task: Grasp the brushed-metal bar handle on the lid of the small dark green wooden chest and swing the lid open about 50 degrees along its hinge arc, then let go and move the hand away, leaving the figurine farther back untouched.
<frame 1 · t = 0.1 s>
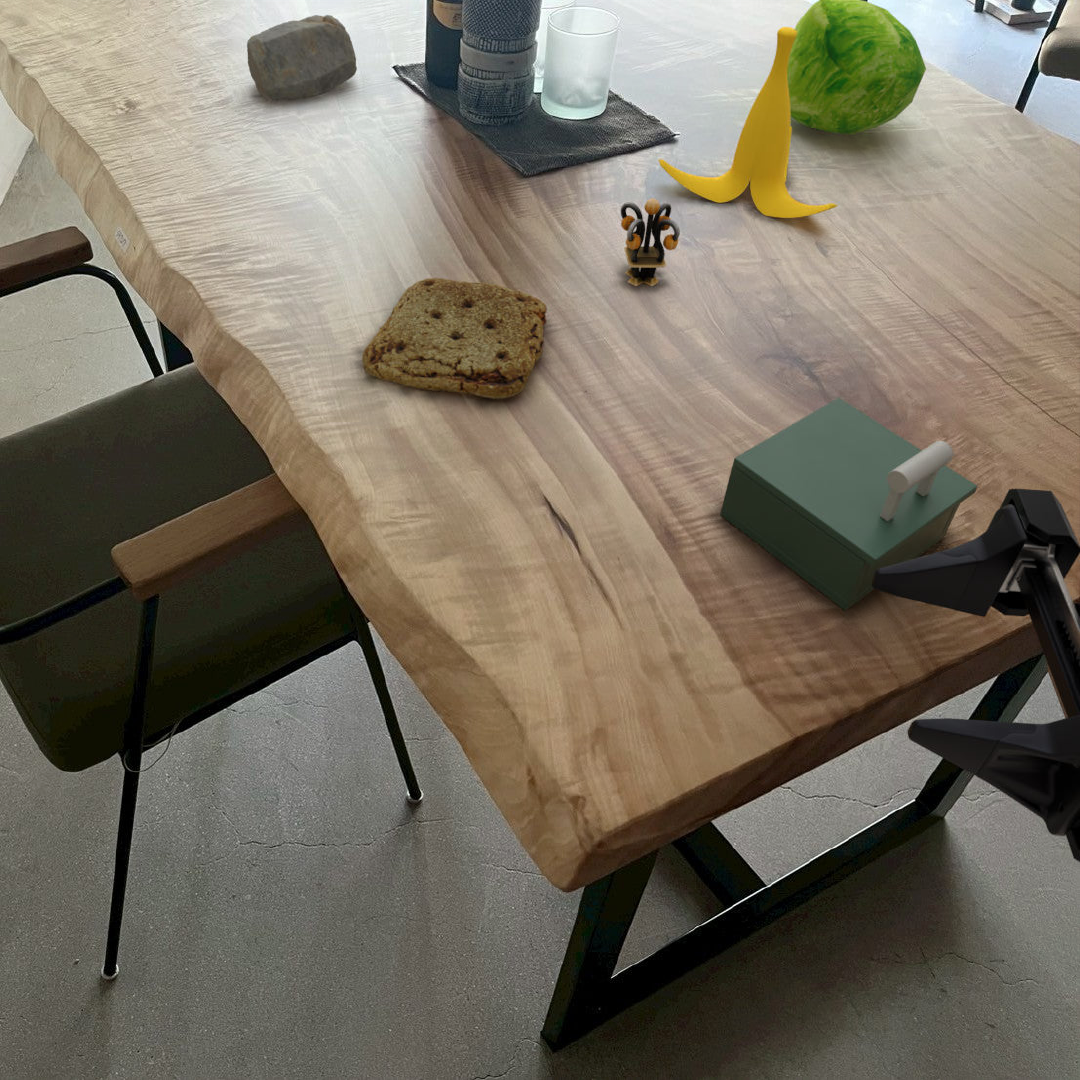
hand: (890, 649, 50), 14 cm above the table, tool horizontal, fingers open, 9 cm apart
lettuce: (830, 124, 126), on the table
stone: (304, 89, 124), on the table
pastry: (459, 348, 89), on the table
banana peel: (768, 203, 111), on the table
lid: (862, 452, 71), point 7 cm above the table, hinge at 0.0°
figurine: (641, 280, 99), on the table
chest: (831, 526, 76), on the table
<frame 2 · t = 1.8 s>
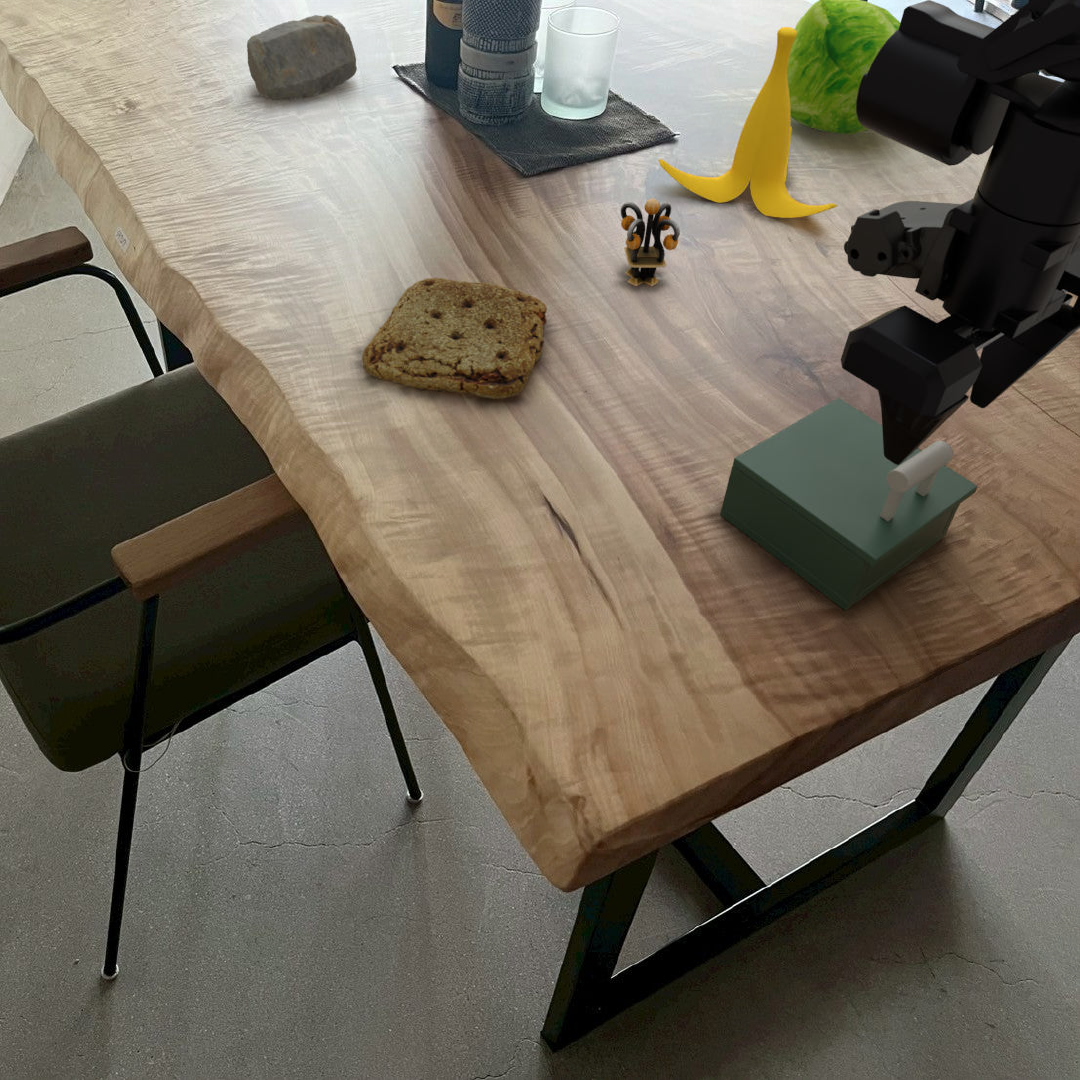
hand: (936, 431, 66), 12 cm above the table, tool pointing down, fingers open, 9 cm apart
nothing on the table moved.
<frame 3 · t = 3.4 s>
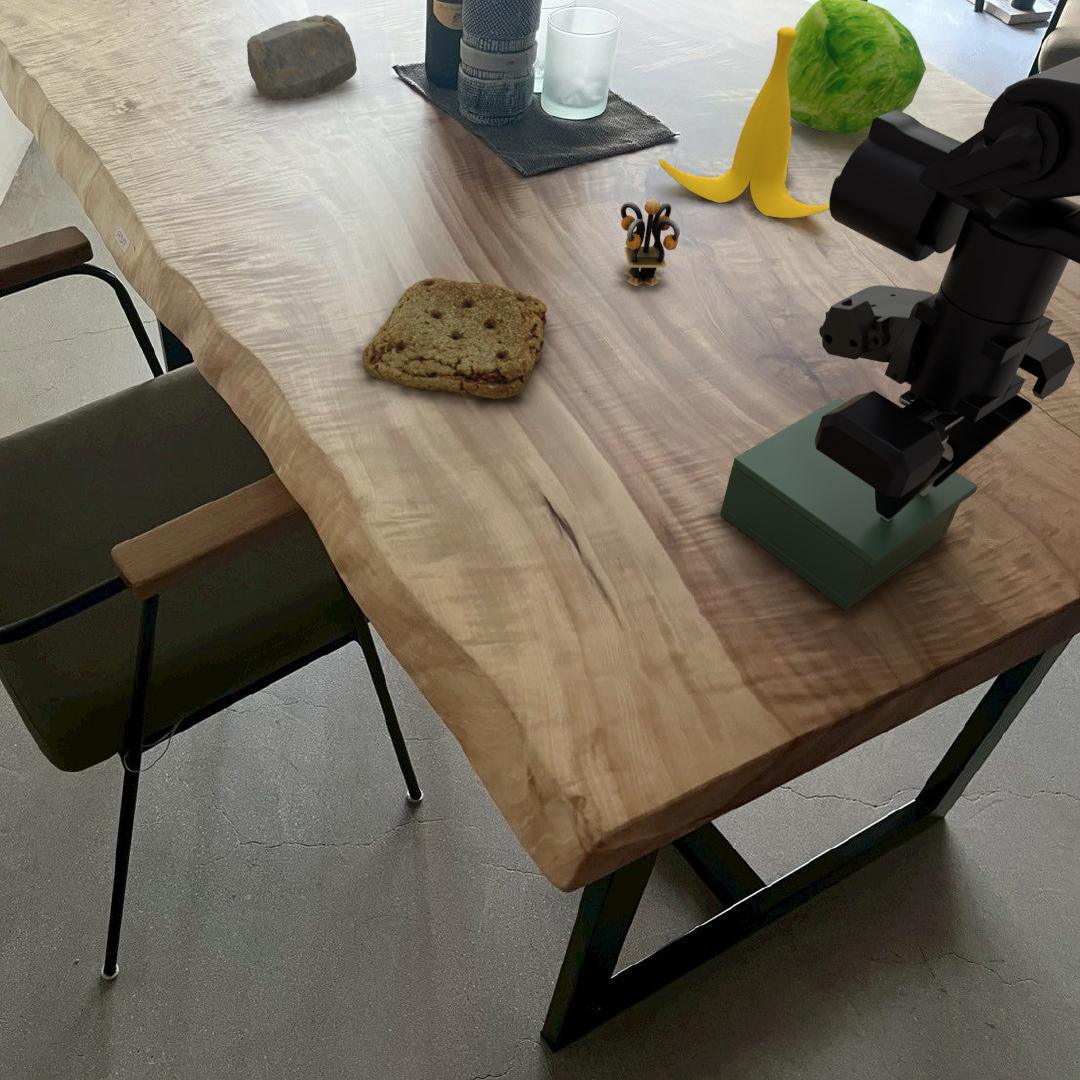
hand: (907, 498, 70), 6 cm above the table, tool pointing down, fingers closed on lid, 5 cm apart
lid: (862, 452, 71), point 7 cm above the table, hinge at 0.0°, touching gripper
everything else where it was.
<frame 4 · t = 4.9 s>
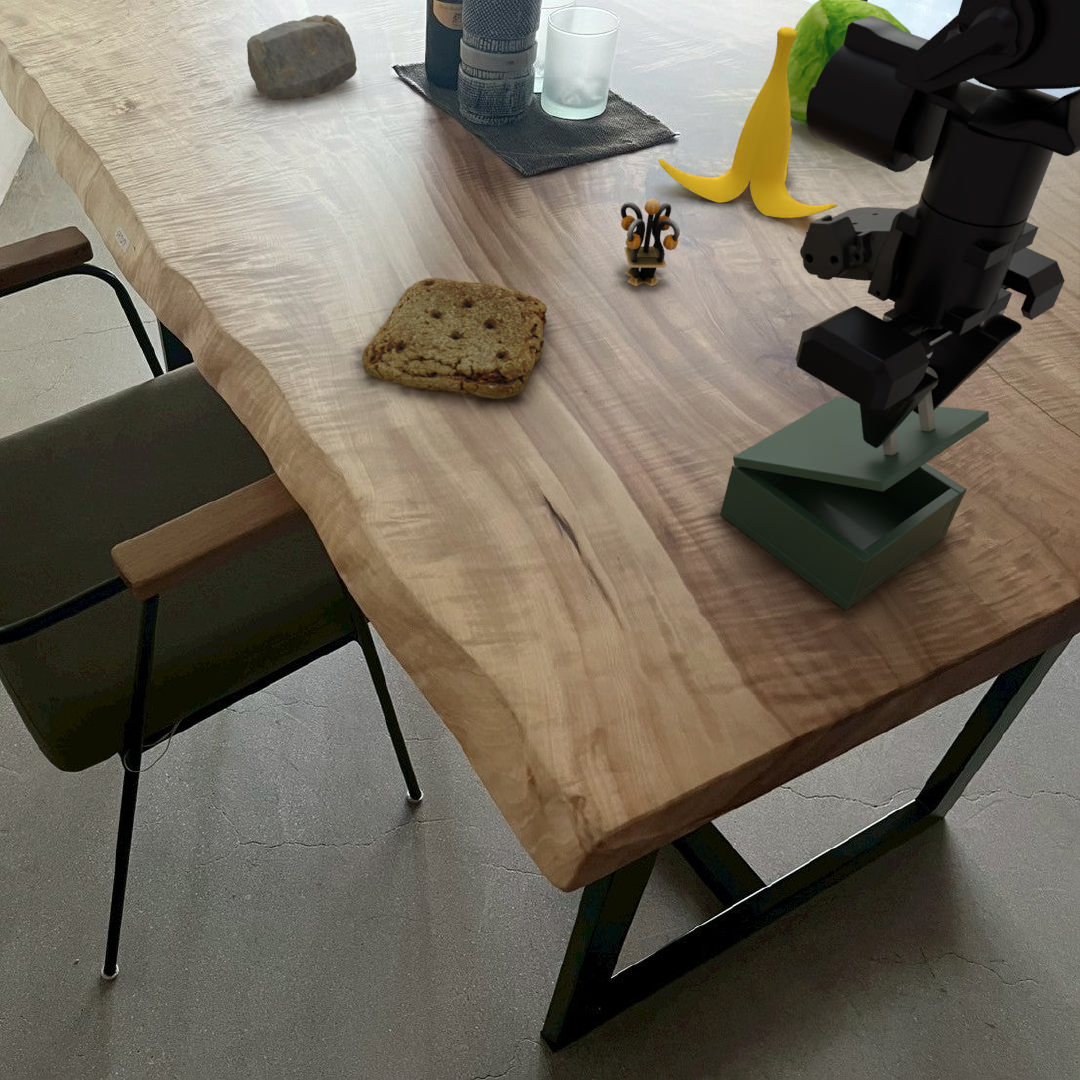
hand: (896, 428, 68), 10 cm above the table, tool pointing down, fingers closed on lid, 5 cm apart
lid: (853, 410, 70), point 10 cm above the table, hinge at 27.4°, touching gripper
everything else where it was.
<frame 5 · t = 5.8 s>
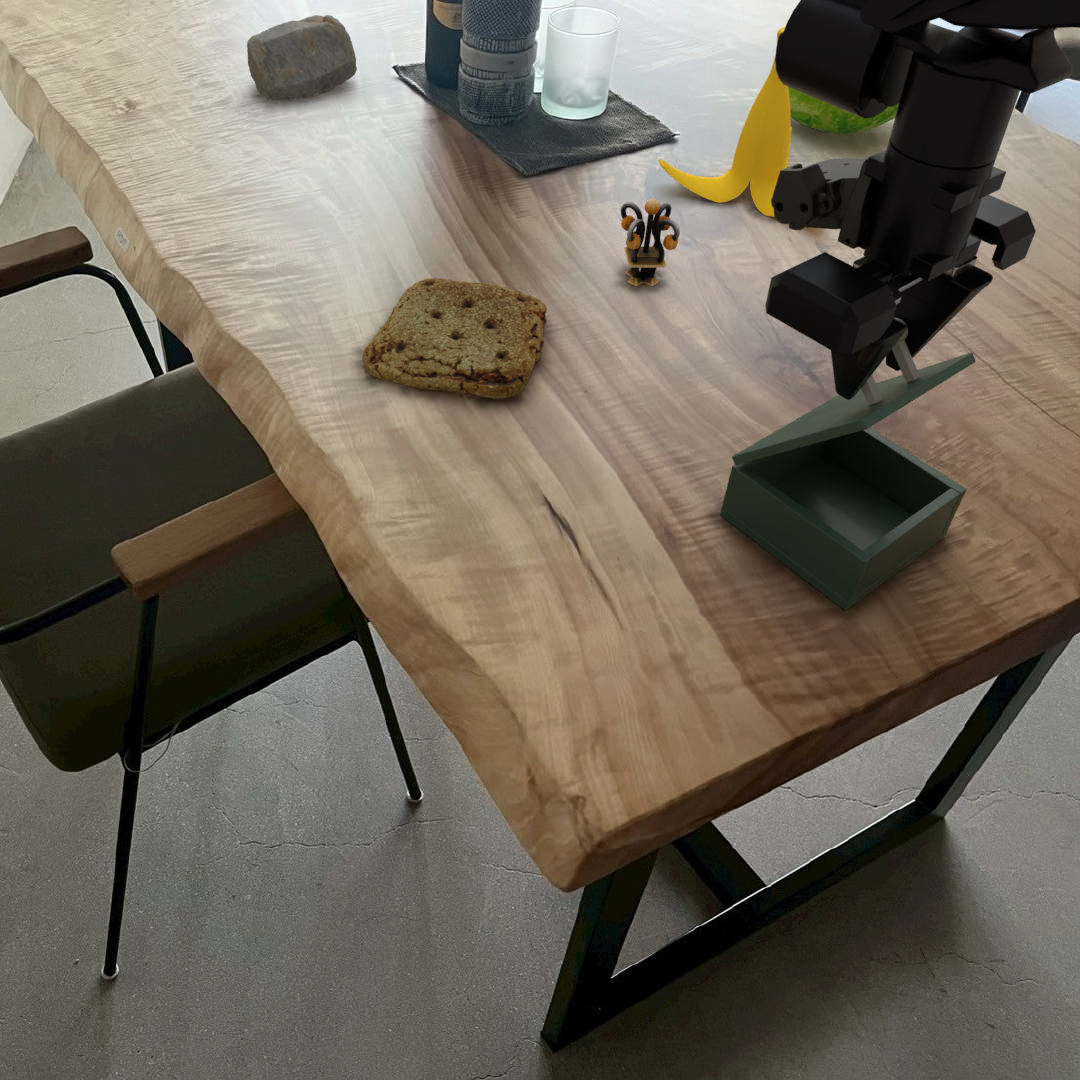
hand: (869, 381, 68), 12 cm above the table, tool pointing down, fingers closed on lid, 5 cm apart
lid: (837, 382, 70), point 11 cm above the table, hinge at 46.7°, touching gripper
everything else where it was.
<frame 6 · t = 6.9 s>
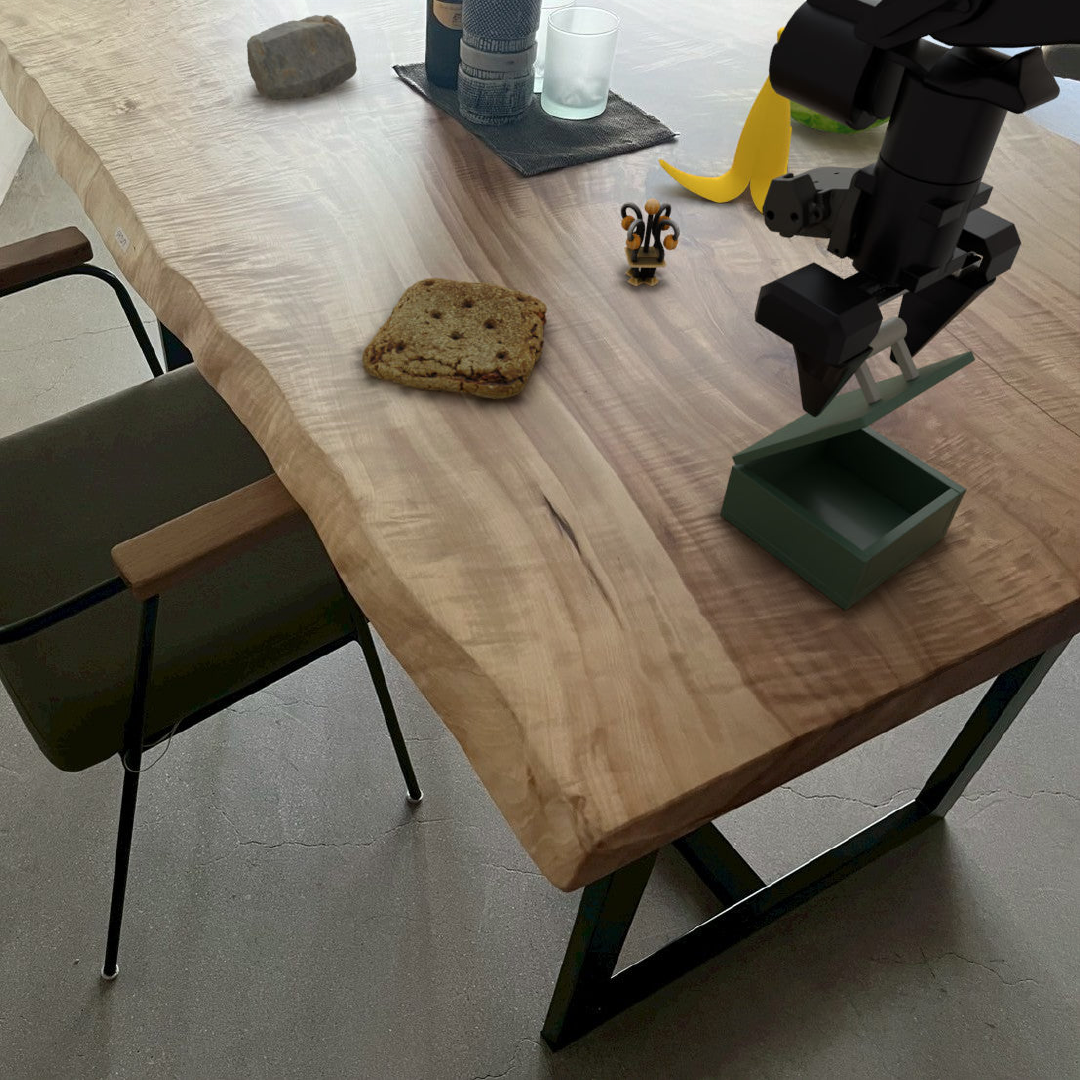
hand: (854, 387, 69), 12 cm above the table, tool pointing down, fingers open, 9 cm apart
lid: (836, 381, 70), point 11 cm above the table, hinge at 47.2°
everything else where it was.
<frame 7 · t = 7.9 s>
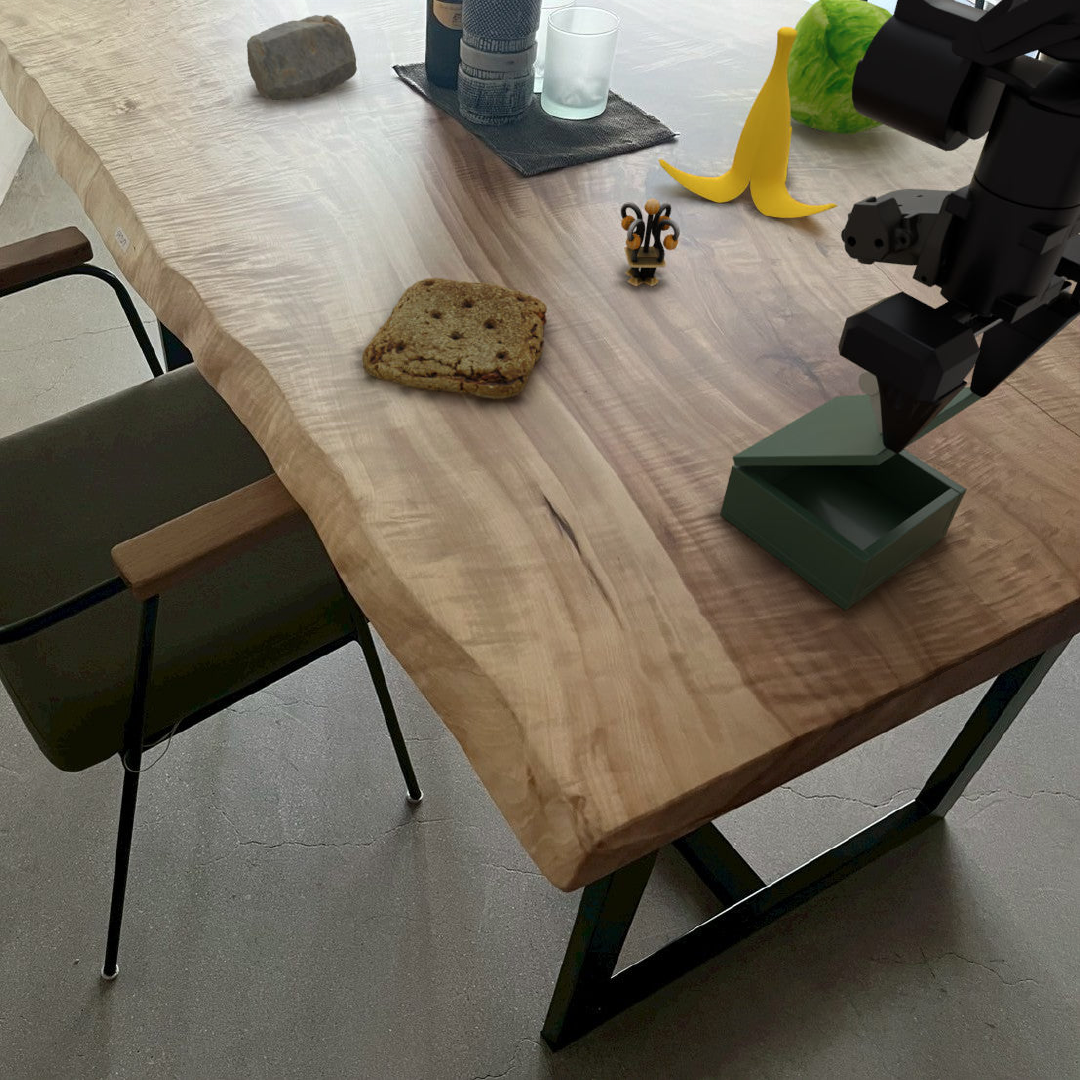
hand: (936, 420, 65), 13 cm above the table, tool pointing down, fingers open, 9 cm apart
lid: (847, 397, 70), point 10 cm above the table, hinge at 35.6°
everything else where it was.
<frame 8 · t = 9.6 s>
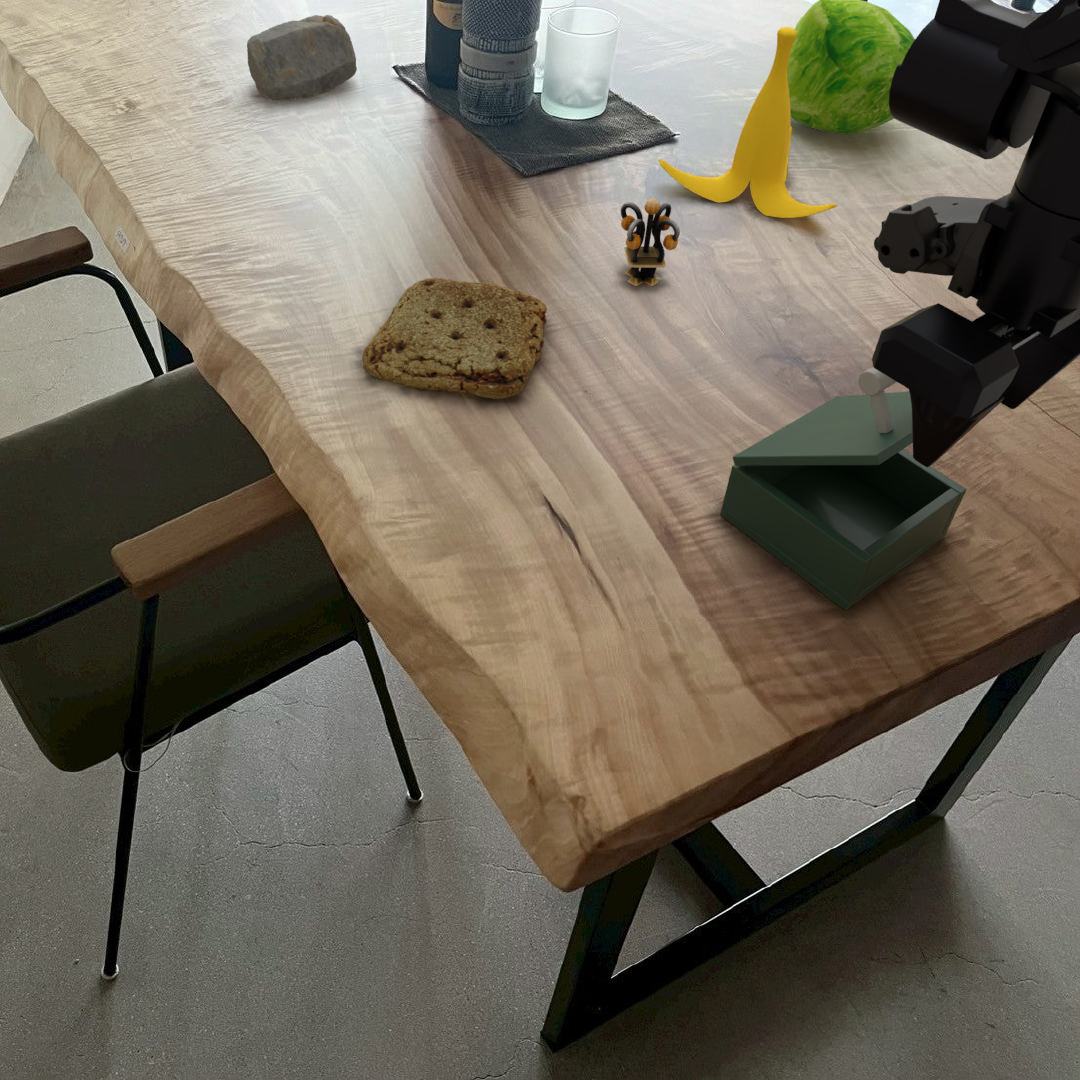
hand: (966, 432, 64), 13 cm above the table, tool pointing down, fingers open, 9 cm apart
nothing on the table moved.
at the end: lid at +36° (first picture: +0°); figurine moved 0.2 cm from its start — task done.
